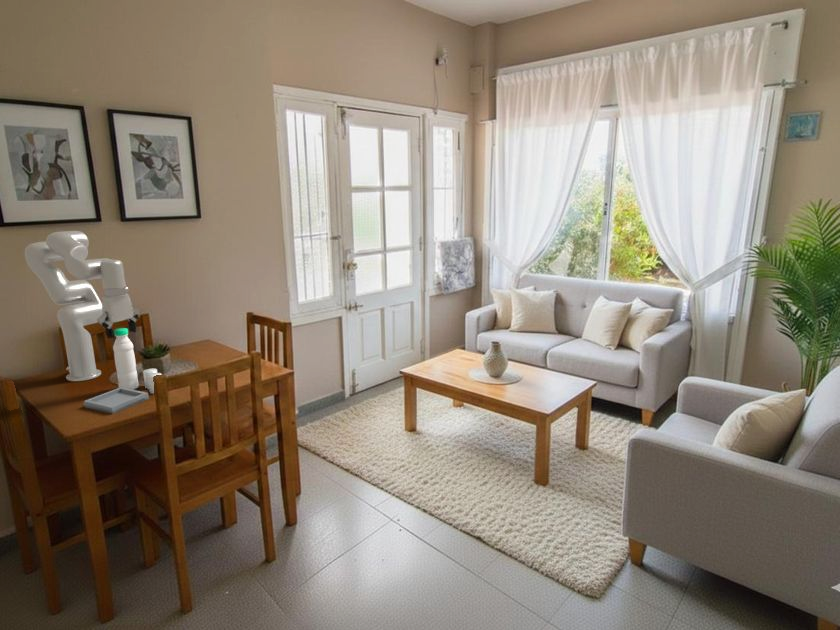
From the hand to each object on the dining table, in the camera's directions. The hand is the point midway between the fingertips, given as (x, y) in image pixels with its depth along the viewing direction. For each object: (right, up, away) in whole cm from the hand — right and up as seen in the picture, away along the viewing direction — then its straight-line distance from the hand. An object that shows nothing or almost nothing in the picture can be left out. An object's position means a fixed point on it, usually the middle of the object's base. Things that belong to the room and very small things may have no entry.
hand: (122, 334), depth 202 cm
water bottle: (0, -22, +6) cm, 23 cm away
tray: (+3, -25, -9) cm, 27 cm away
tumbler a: (+12, -23, +2) cm, 26 cm away
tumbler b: (+8, -22, +7) cm, 24 cm away
